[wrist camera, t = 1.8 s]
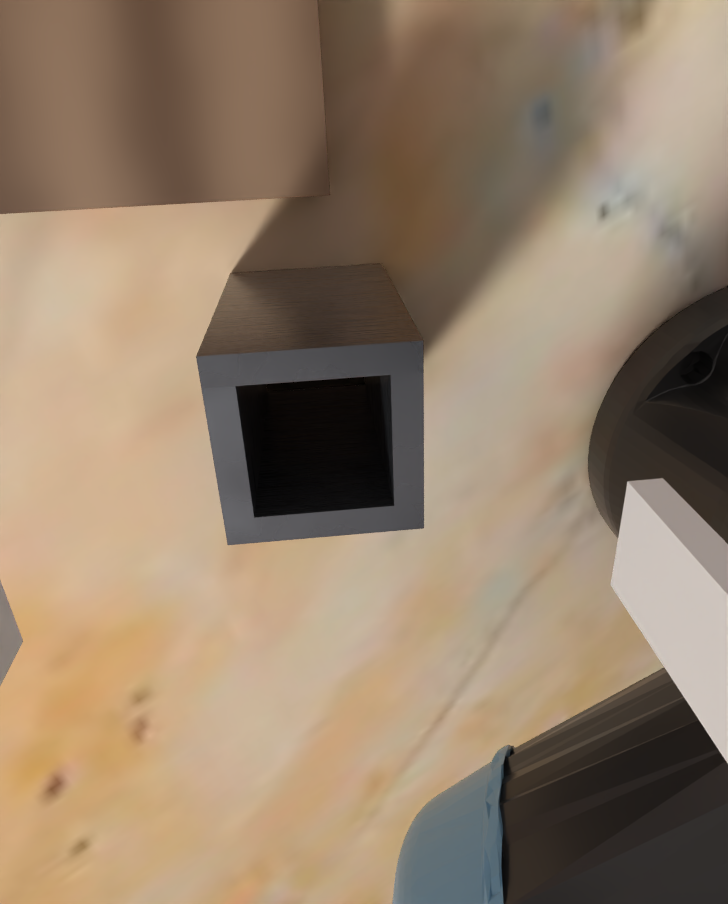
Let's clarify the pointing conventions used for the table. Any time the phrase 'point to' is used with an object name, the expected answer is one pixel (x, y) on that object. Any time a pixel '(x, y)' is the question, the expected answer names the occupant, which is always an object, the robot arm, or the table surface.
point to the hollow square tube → (314, 405)
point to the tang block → (159, 103)
